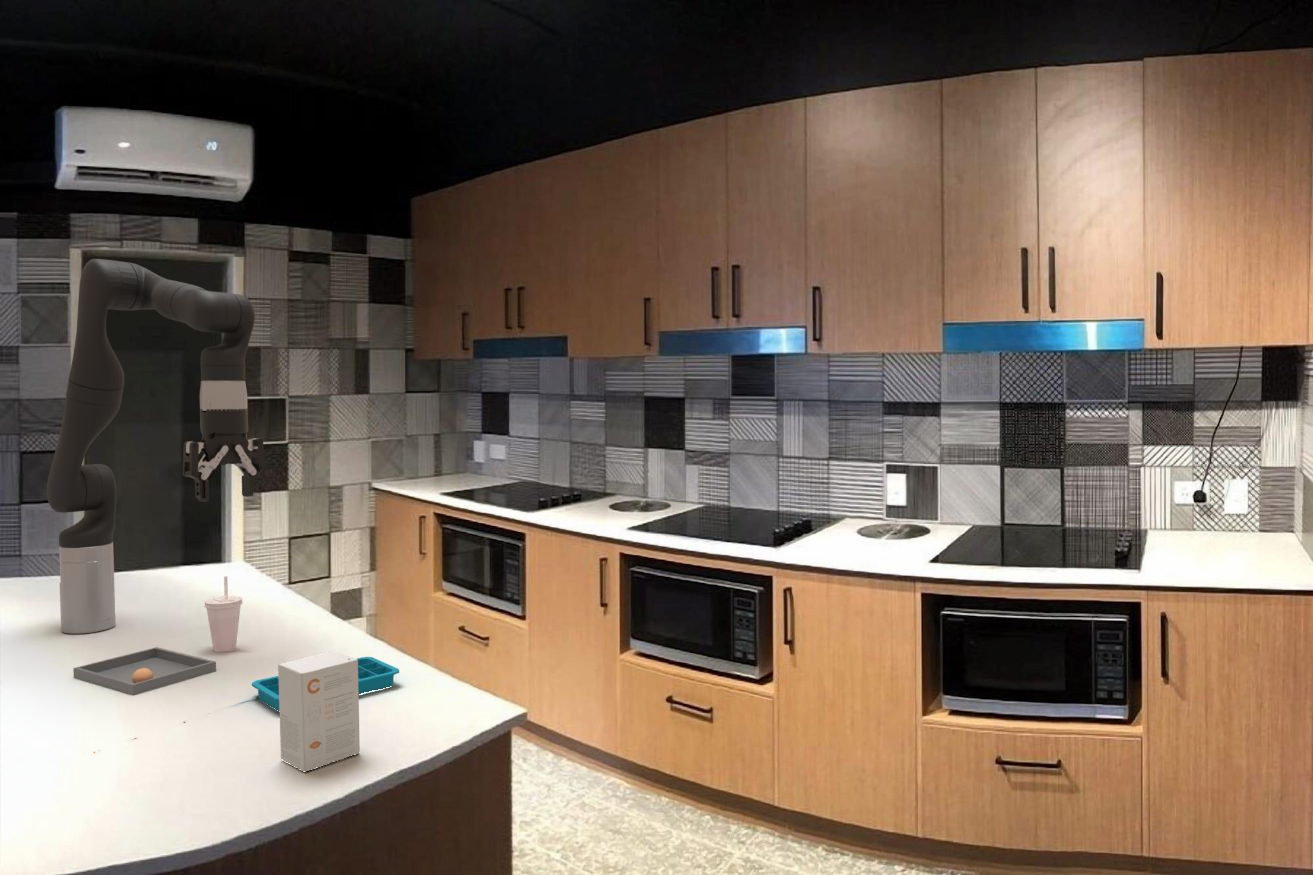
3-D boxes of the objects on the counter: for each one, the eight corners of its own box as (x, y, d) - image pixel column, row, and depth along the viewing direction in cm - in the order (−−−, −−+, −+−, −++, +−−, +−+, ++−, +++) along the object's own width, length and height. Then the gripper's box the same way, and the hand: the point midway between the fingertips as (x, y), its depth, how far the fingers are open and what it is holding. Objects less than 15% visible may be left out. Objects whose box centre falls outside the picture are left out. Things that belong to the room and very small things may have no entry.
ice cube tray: (249, 700, 141) (248, 682, 141) (369, 672, 155) (369, 655, 155) (278, 720, 133) (278, 700, 133) (402, 688, 147) (402, 670, 147)
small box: (335, 742, 124) (334, 649, 123) (360, 754, 120) (359, 658, 119) (278, 761, 118) (276, 663, 117) (303, 774, 114) (301, 673, 113)
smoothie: (228, 657, 163) (226, 580, 162) (197, 654, 164) (195, 579, 164) (251, 647, 169) (249, 573, 169) (221, 645, 171) (219, 572, 170)
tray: (73, 679, 150) (73, 667, 150) (156, 657, 162) (156, 647, 162) (133, 697, 142) (132, 685, 141) (216, 673, 154) (215, 661, 154)
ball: (128, 687, 145) (127, 669, 145) (146, 682, 148) (146, 664, 147) (139, 690, 143) (138, 672, 143) (157, 685, 146) (157, 667, 146)
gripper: (246, 406, 166) (248, 493, 166) (171, 407, 153) (174, 501, 154) (273, 406, 162) (274, 496, 163) (199, 407, 150) (201, 504, 150)
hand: (225, 498), depth 158 cm, fingers open, 8 cm apart
